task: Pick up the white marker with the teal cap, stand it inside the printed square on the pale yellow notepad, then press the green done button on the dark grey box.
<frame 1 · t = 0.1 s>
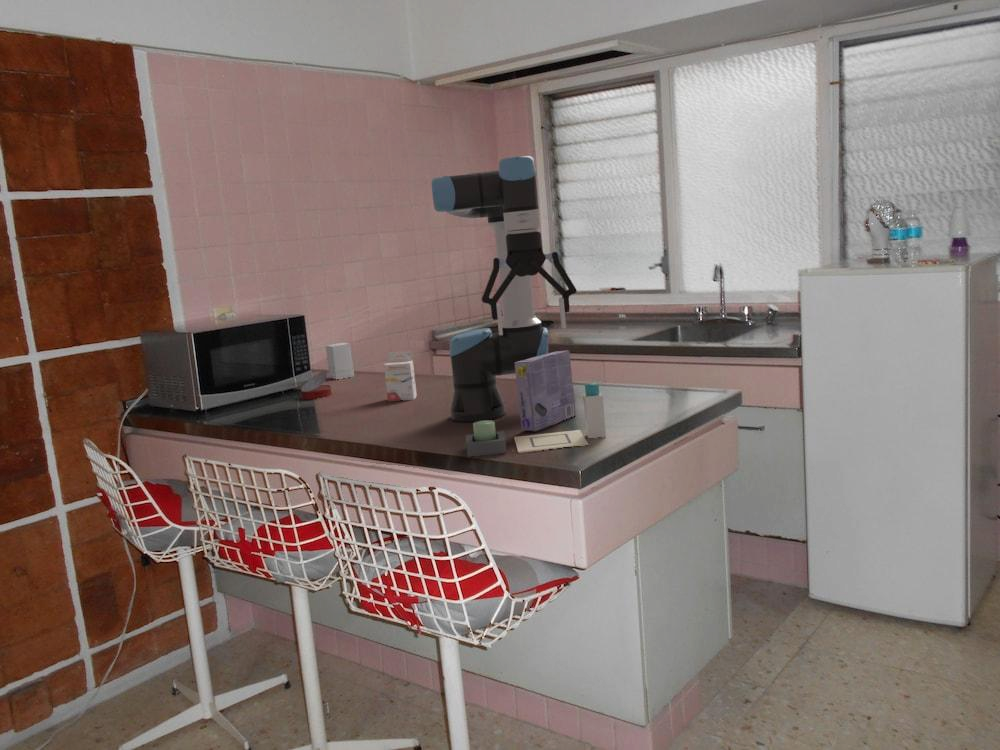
hand: (532, 331, 192), 28 cm above the countertop, tool pointing down, fingers open, 13 cm apart
supplement box: (342, 378, 334), on the countertop
done button: (484, 432, 207), point 4 cm above the countertop, slide at 0.0 cm
marker: (596, 436, 210), on the countertop
ink cartridge box: (402, 399, 280), on the countertop
button box: (486, 450, 208), on the countertop
cake pan box: (550, 424, 228), on the countertop
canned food: (317, 397, 300), on the countertop
notepad: (550, 442, 209), on the countertop
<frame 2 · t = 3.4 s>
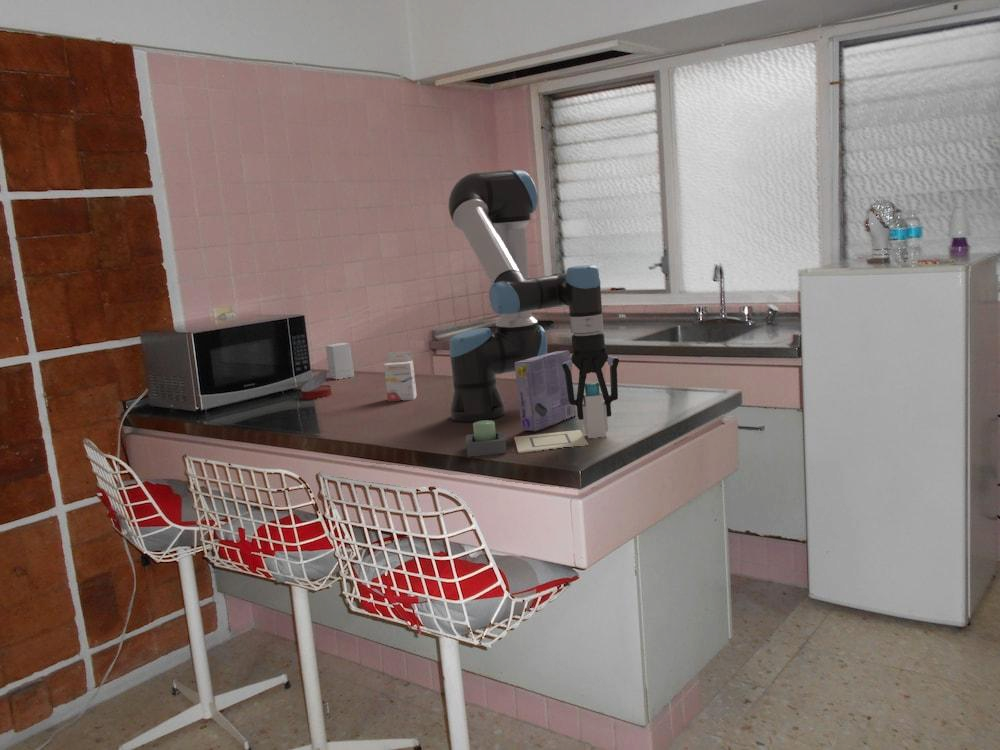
hand: (595, 431, 210), 1 cm above the countertop, tool pointing down, fingers closed on marker, 4 cm apart
marker: (596, 436, 210), on the countertop, touching gripper
everything else where it was.
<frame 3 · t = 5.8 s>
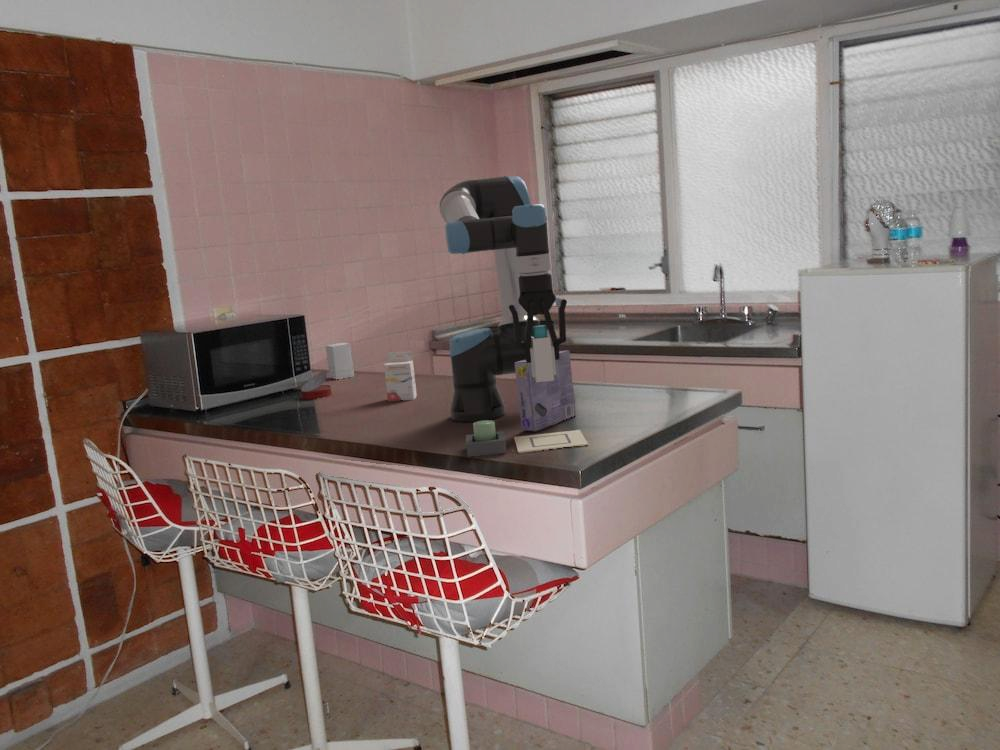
hand: (544, 374, 206), 16 cm above the countertop, tool pointing down, fingers closed on marker, 4 cm apart
marker: (544, 379, 206), point 15 cm above the countertop, touching gripper
everything else where it was.
when the fingers open (3 cm above the countertop, at t = 8.3 s): marker drops 1 cm, resting on notepad.
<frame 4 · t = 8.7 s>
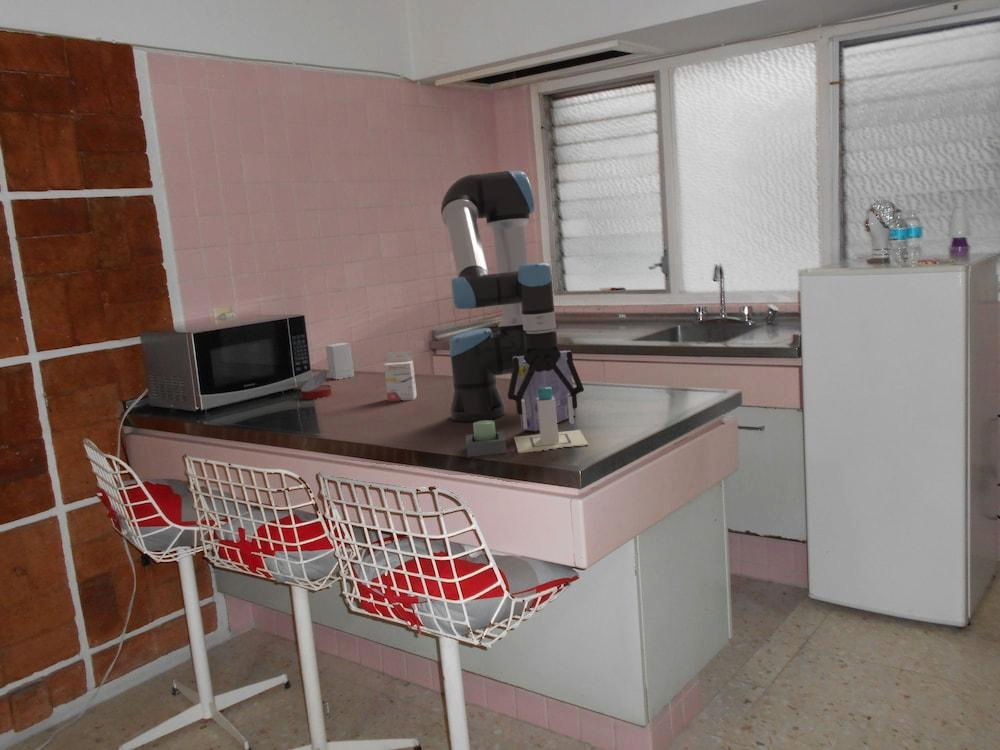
hand: (548, 425, 208), 4 cm above the countertop, tool pointing down, fingers open, 10 cm apart
marker: (549, 440, 209), resting on notepad
everything else where it was.
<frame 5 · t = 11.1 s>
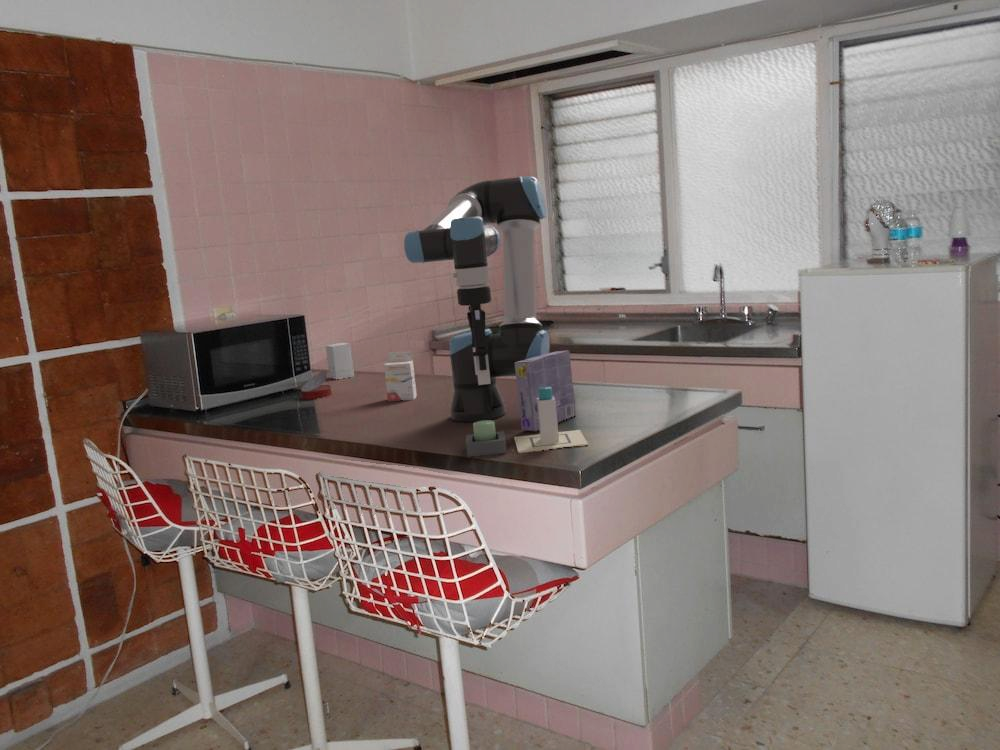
hand: (482, 379, 205), 17 cm above the countertop, tool pointing down, fingers open, 13 cm apart
nothing on the countertop moved.
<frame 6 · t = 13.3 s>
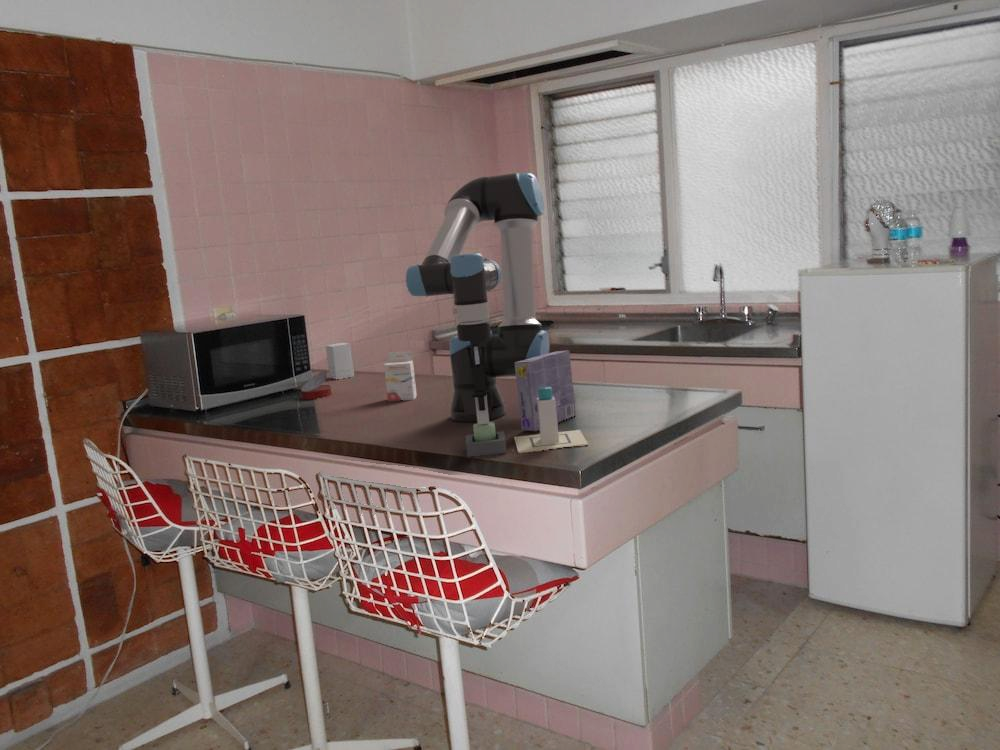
hand: (483, 423, 206), 6 cm above the countertop, tool pointing down, fingers closed
done button: (484, 433, 207), point 4 cm above the countertop, slide at 0.3 cm, touching gripper
everything else where it was.
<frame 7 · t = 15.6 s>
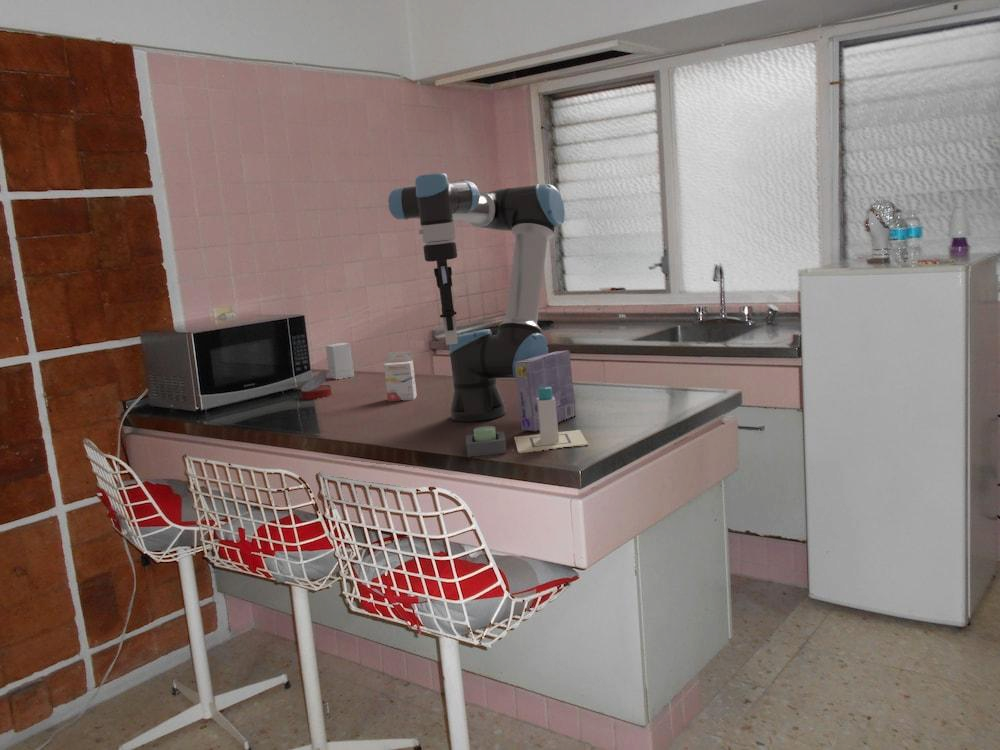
hand: (452, 343, 209), 25 cm above the countertop, tool pointing down, fingers closed
done button: (485, 438, 207), point 3 cm above the countertop, slide at 1.4 cm
everything else where it was.
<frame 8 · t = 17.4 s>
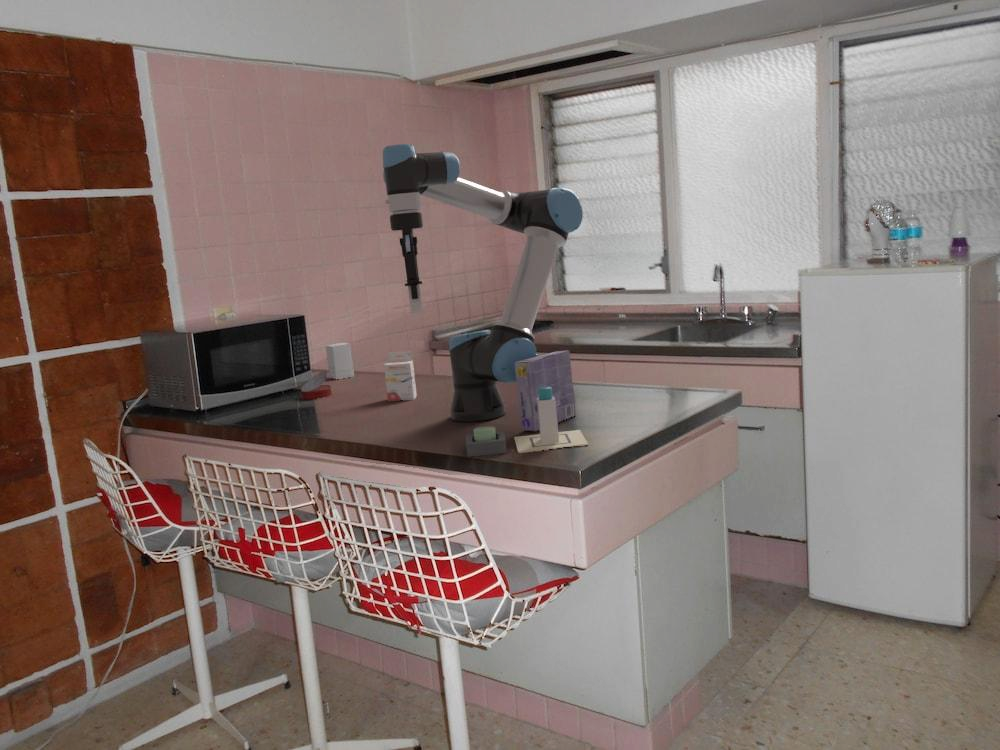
hand: (416, 312, 214), 32 cm above the countertop, tool pointing down, fingers closed
nothing on the countertop moved.
at the end: marker inside the target area on the notepad (0.1 cm from its centre), point 0.4 cm above the notepad's base; marker tilted 0°; done button slide at 1.4 cm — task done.
